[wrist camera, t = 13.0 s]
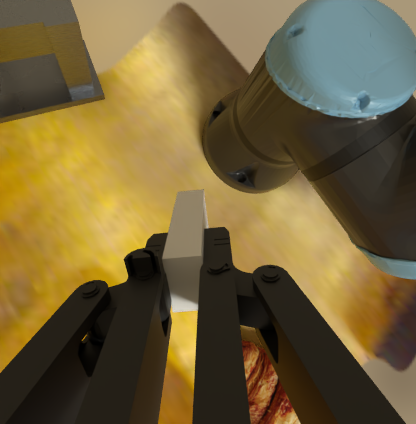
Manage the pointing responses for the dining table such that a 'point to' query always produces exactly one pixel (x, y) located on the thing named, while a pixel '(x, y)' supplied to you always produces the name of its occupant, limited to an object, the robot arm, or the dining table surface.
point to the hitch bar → (43, 59)
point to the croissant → (265, 389)
